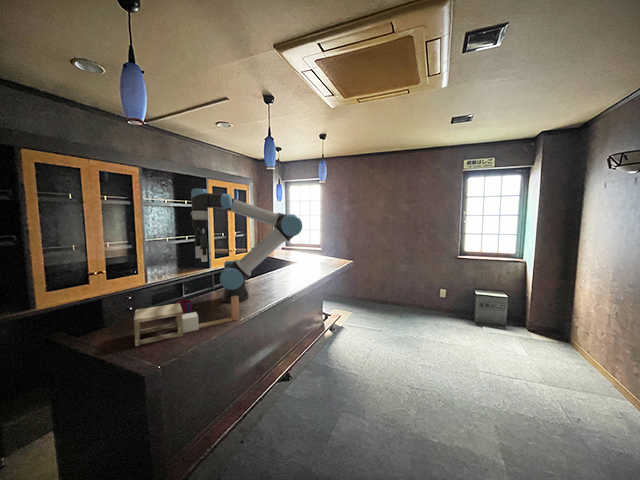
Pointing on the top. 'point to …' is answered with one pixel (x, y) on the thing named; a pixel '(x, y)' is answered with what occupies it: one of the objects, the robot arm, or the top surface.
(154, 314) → the wooden holder
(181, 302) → the mug
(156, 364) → the top surface
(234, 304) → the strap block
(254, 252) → the robot arm
